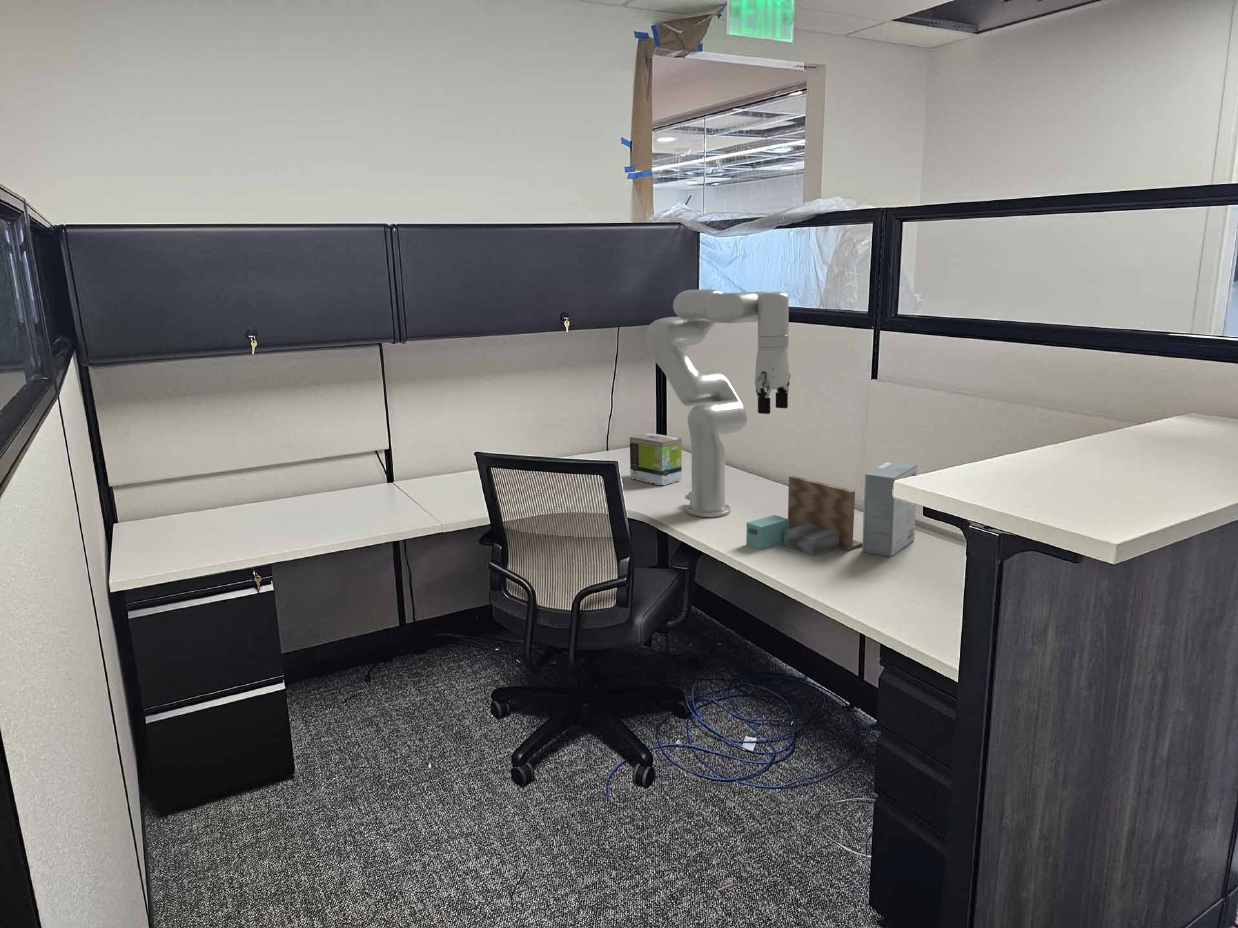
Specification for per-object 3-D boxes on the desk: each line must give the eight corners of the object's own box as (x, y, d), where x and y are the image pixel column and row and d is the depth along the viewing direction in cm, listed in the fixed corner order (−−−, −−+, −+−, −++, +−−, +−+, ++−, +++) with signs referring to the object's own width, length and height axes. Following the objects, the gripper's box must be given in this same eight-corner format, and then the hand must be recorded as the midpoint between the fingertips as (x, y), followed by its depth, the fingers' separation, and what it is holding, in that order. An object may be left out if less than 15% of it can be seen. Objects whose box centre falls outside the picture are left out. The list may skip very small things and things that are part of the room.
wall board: (763, 538, 213) (764, 482, 209) (801, 527, 221) (803, 473, 218) (824, 558, 197) (826, 498, 194) (862, 545, 205) (865, 488, 202)
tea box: (682, 481, 271) (682, 437, 268) (661, 487, 265) (661, 442, 261) (650, 473, 282) (649, 431, 279) (629, 479, 275) (628, 436, 272)
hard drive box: (885, 535, 213) (889, 460, 208) (914, 540, 208) (919, 464, 204) (860, 551, 201) (864, 473, 197) (891, 558, 197) (895, 477, 192)
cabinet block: (744, 545, 208) (744, 523, 207) (773, 536, 214) (774, 514, 213) (758, 550, 204) (759, 527, 203) (788, 541, 210) (788, 519, 209)
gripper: (775, 340, 214) (775, 405, 217) (743, 345, 200) (743, 414, 204) (802, 340, 209) (801, 406, 213) (770, 346, 196) (770, 416, 200)
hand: (773, 410), depth 208 cm, fingers open, 9 cm apart
